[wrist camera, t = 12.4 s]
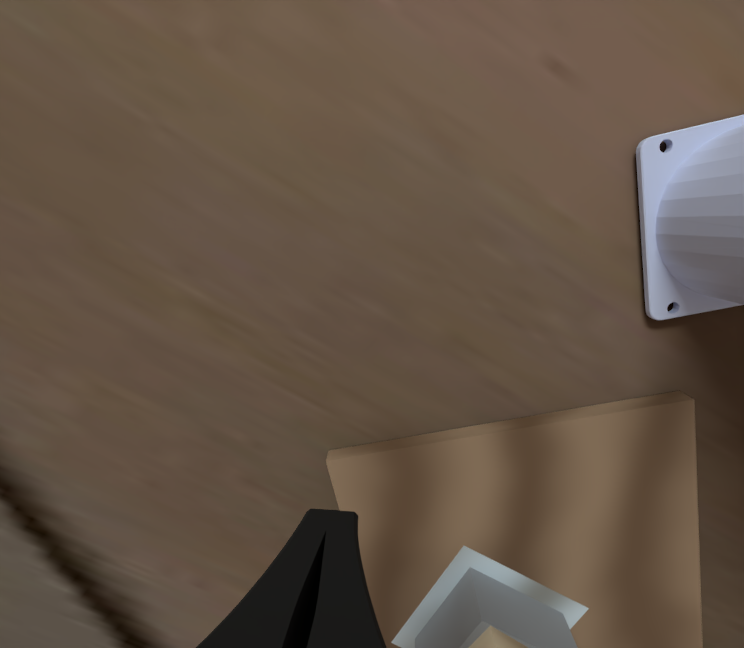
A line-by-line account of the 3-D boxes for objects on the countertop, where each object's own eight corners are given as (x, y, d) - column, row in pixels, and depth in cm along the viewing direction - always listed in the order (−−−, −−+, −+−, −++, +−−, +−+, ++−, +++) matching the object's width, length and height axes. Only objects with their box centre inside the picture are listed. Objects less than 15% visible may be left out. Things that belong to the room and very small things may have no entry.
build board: (679, 390, 20) (695, 399, 18) (691, 663, 24) (704, 683, 23) (328, 450, 21) (325, 461, 20) (396, 693, 26) (396, 713, 25)
